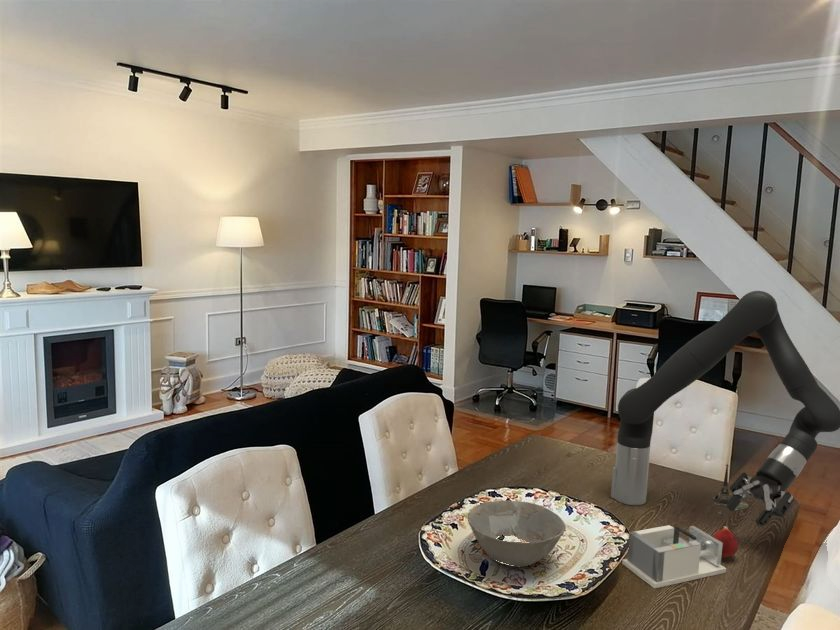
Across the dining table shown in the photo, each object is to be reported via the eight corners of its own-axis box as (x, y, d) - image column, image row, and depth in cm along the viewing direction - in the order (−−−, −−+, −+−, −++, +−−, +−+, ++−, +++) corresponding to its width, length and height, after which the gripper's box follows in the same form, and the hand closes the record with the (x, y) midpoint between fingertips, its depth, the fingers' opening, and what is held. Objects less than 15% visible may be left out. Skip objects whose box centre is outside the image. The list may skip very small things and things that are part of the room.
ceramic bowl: (575, 583, 140) (577, 542, 138) (473, 585, 138) (475, 543, 137) (548, 535, 161) (550, 499, 160) (460, 536, 160) (461, 499, 158)
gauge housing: (690, 549, 156) (693, 518, 155) (726, 572, 146) (729, 539, 145) (622, 563, 149) (624, 530, 147) (654, 588, 138) (657, 553, 137)
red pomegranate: (734, 554, 154) (737, 523, 153) (738, 565, 149) (741, 534, 148) (709, 549, 156) (712, 519, 155) (711, 560, 151) (714, 529, 150)
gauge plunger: (691, 546, 155) (694, 512, 153) (724, 567, 145) (727, 531, 144) (655, 554, 151) (658, 518, 149) (686, 575, 141) (690, 538, 140)
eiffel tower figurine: (720, 516, 177) (725, 471, 175) (692, 501, 186) (696, 459, 184) (757, 507, 183) (761, 464, 181) (727, 494, 192) (731, 452, 190)
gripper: (751, 448, 161) (713, 496, 159) (801, 468, 148) (761, 520, 145) (764, 465, 164) (727, 513, 161) (815, 486, 151) (775, 538, 148)
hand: (743, 516), depth 153 cm, fingers open, 8 cm apart
